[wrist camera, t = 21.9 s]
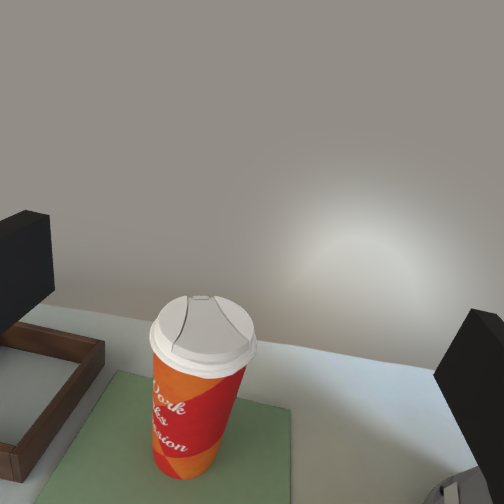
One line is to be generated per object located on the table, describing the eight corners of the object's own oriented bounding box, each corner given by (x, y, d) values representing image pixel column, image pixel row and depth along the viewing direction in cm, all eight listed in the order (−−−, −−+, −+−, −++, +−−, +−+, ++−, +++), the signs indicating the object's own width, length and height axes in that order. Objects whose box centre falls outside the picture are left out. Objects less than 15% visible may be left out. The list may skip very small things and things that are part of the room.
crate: (105, 364, 39) (105, 340, 38) (22, 483, 27) (18, 456, 26) (-8, 338, 40) (-12, 314, 38) (-139, 446, 27) (-153, 416, 26)
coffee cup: (139, 414, 34) (149, 289, 28) (219, 405, 37) (245, 290, 31) (139, 505, 27) (152, 366, 21) (237, 486, 30) (276, 358, 24)
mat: (289, 411, 39) (290, 409, 38) (288, 566, 26) (289, 564, 26) (117, 372, 39) (117, 370, 39) (33, 506, 26) (32, 504, 26)
